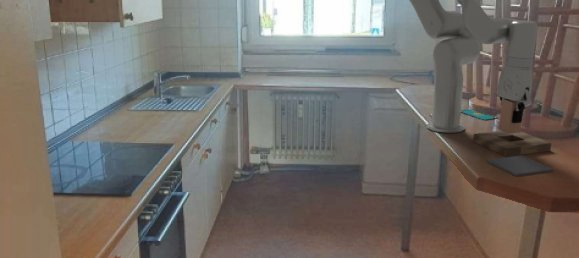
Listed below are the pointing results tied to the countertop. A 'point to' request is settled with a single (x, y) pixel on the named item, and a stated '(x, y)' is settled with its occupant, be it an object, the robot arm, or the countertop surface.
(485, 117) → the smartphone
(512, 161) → the mat
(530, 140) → the pocket board
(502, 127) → the block
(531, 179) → the countertop surface
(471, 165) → the countertop surface
